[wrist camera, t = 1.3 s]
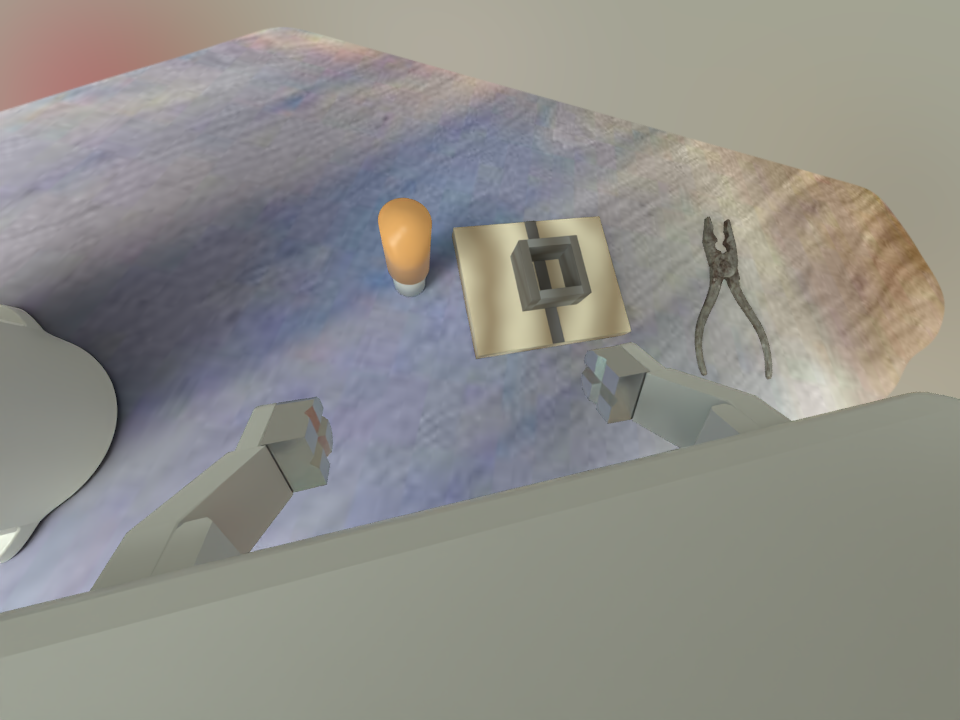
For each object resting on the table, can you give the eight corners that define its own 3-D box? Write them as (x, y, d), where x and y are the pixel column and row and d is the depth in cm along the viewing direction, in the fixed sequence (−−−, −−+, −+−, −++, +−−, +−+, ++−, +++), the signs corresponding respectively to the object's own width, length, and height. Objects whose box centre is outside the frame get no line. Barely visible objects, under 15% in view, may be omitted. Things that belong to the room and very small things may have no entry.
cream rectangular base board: (476, 358, 32) (484, 348, 28) (451, 236, 35) (456, 208, 30) (622, 335, 36) (650, 322, 31) (592, 224, 38) (614, 197, 33)
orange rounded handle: (393, 302, 32) (382, 247, 22) (388, 267, 33) (374, 199, 23) (431, 297, 33) (435, 242, 23) (425, 263, 33) (427, 196, 24)
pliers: (709, 390, 36) (660, 219, 39) (702, 391, 36) (655, 224, 40) (781, 376, 38) (729, 215, 41) (773, 378, 38) (723, 219, 42)
